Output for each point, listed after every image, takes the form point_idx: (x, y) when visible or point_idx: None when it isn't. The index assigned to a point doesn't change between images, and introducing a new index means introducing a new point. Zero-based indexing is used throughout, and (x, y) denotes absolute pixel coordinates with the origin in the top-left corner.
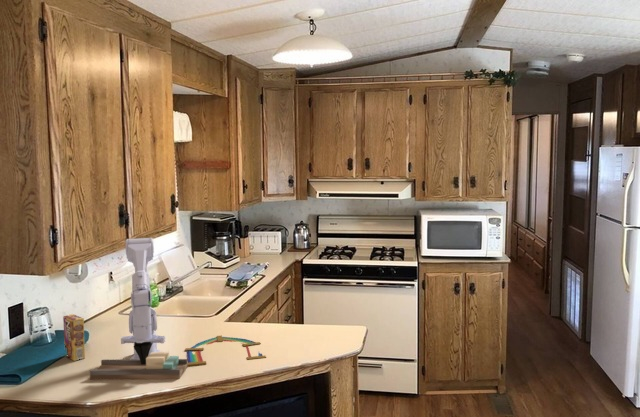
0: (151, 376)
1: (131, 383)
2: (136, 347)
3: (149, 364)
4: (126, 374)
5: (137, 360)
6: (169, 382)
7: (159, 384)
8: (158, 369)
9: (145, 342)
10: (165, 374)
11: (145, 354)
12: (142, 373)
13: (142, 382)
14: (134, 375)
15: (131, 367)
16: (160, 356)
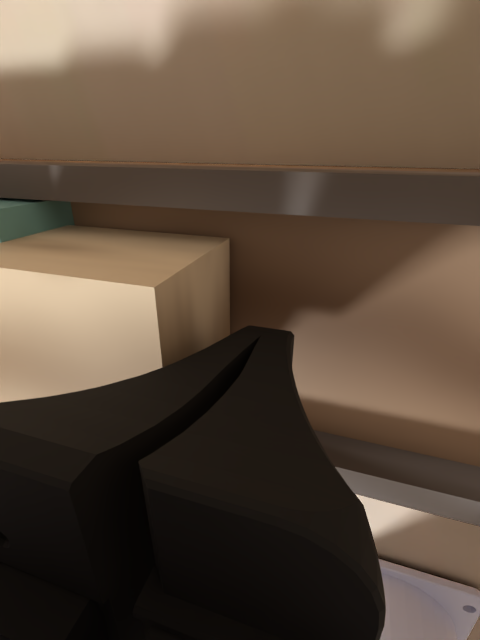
0: (170, 163)
1: (365, 19)
2: (252, 491)
3: (158, 256)
4: (467, 171)
5: (380, 477)
6: (4, 70)
7: (59, 8)
8: (67, 184)
9: (6, 633)
10: (38, 162)
11: (162, 369)
12: (250, 167)
13: (241, 61)
14: (353, 168)
15: (434, 390)
16: (7, 330)
